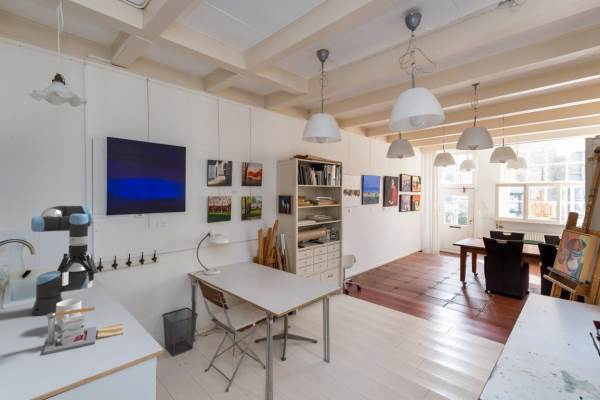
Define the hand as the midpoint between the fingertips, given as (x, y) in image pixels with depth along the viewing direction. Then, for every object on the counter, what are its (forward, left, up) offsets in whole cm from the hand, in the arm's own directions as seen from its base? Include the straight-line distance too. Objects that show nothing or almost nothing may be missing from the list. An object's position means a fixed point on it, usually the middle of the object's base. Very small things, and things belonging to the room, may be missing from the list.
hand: (77, 286), depth 144 cm
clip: (+2, -2, -13) cm, 13 cm away
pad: (+1, +15, -27) cm, 31 cm away
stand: (+2, -1, -27) cm, 27 cm away
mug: (-17, -4, -27) cm, 32 cm away
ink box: (+2, -1, -27) cm, 27 cm away
